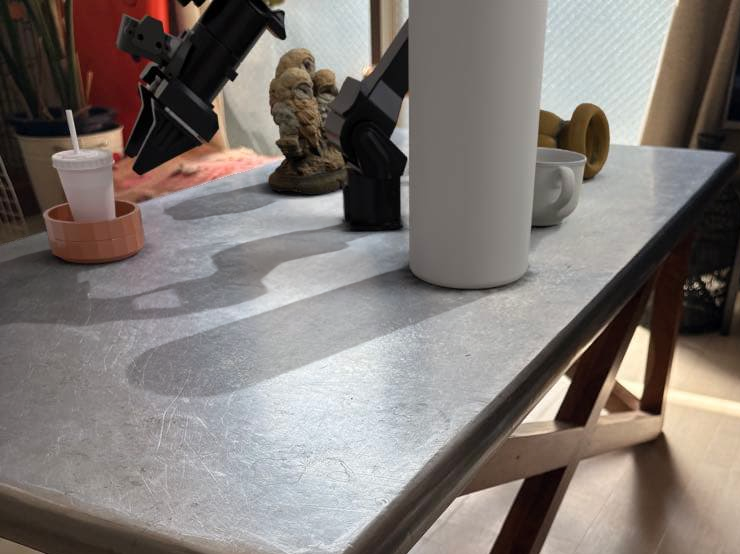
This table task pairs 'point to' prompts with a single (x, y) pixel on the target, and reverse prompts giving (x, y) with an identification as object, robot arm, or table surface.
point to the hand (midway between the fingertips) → (131, 163)
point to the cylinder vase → (473, 138)
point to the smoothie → (86, 179)
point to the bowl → (95, 234)
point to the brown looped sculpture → (578, 135)
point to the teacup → (556, 185)
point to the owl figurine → (304, 126)
